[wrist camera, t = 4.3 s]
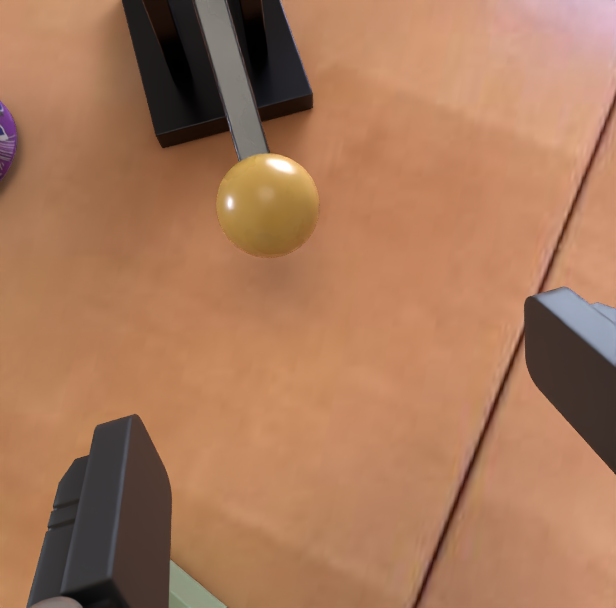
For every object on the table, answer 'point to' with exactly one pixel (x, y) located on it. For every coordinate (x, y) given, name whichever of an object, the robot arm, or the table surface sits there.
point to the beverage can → (6, 140)
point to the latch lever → (253, 156)
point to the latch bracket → (198, 72)
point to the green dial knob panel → (189, 591)
